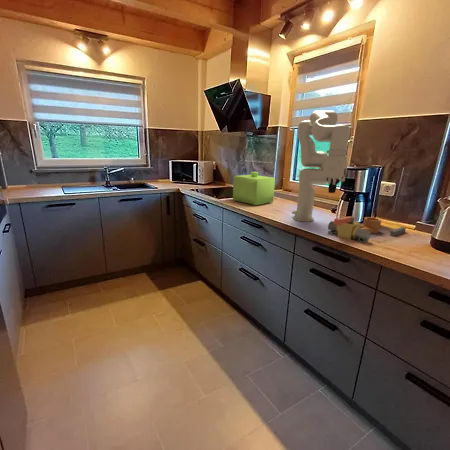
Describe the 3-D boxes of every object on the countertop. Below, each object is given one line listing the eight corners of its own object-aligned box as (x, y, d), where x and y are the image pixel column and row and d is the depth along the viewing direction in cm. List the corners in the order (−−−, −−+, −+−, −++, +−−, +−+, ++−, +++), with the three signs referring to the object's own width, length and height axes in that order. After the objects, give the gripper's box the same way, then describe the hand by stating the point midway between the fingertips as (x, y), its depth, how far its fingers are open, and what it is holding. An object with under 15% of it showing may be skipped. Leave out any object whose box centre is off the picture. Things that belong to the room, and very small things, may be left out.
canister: (232, 199, 224) (233, 171, 217) (250, 196, 238) (251, 170, 231) (255, 205, 206) (257, 174, 200) (273, 201, 220) (275, 172, 214)
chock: (389, 235, 145) (390, 231, 145) (400, 231, 154) (401, 226, 153) (393, 236, 144) (394, 231, 143) (404, 231, 152) (405, 227, 151)
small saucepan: (370, 228, 157) (372, 216, 156) (382, 233, 150) (384, 220, 148) (344, 230, 152) (346, 218, 150) (355, 234, 145) (357, 222, 143)
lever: (348, 220, 140) (349, 214, 139) (355, 221, 138) (356, 216, 137) (332, 224, 132) (333, 218, 131) (339, 226, 129) (340, 220, 128)
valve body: (326, 232, 146) (328, 218, 143) (333, 230, 150) (335, 216, 148) (363, 244, 131) (366, 228, 128) (370, 241, 135) (373, 225, 132)
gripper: (318, 152, 130) (313, 190, 135) (348, 154, 119) (341, 195, 124) (327, 152, 135) (322, 189, 140) (357, 154, 123) (350, 194, 128)
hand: (331, 192), depth 132 cm, fingers closed
